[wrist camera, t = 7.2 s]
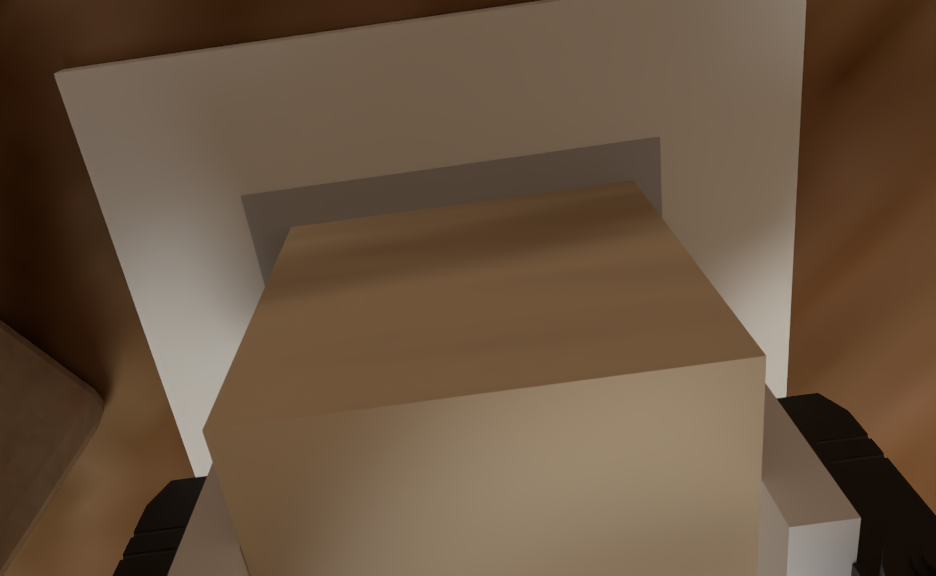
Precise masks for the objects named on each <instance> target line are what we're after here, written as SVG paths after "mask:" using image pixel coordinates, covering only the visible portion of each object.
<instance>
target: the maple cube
mask: <svg viewBox="0 0 936 576" xmlns="http://www.w3.org/2000/svg"><path fill="white" fill-rule="evenodd" d="M765 379H766V355H765V353H764V352H763V351H762V349H761V348H760V347H759V345H758V344H757V343H756V341H755V340H754V339H753V338H752V336H751V335H750V334H749V332H748V331H747V330H746V328H745V327H744V326H743V324H742V323H741V322H740V320H739V319H738V318H737V316H736V315H735V314H734V312H733V311H732V310H731V308H730V307H729V306H728V305H727V303H726V302H725V301H724V299H723V298H722V297H721V295H720V294H719V293H718V291H717V290H716V289H715V287H714V286H713V285H712V283H711V282H710V281H709V279H708V278H707V277H706V276H705V274H704V273H703V272H702V270H701V269H700V268H699V266H698V265H697V264H696V262H695V261H694V260H693V258H692V257H691V256H690V254H689V253H688V252H687V250H686V249H685V248H684V247H683V245H682V244H681V243H680V241H679V240H678V239H677V237H676V236H675V235H674V233H673V232H672V231H671V229H670V228H669V227H668V225H667V224H666V223H665V221H664V220H663V219H662V218H661V216H660V215H659V214H658V212H657V211H656V210H655V208H654V207H653V206H652V204H651V203H650V202H649V200H648V199H647V198H646V196H645V195H644V194H643V192H642V191H641V190H640V189H639V187H638V186H637V185H636V183H635V182H634V181H626V182H619V183H612V184H604V185H597V186H590V187H582V188H575V189H568V190H560V191H553V192H546V193H538V194H531V195H524V196H516V197H509V198H502V199H494V200H487V201H480V202H472V203H465V204H458V205H450V206H443V207H436V208H428V209H421V210H414V211H406V212H399V213H392V214H384V215H377V216H370V217H362V218H355V219H348V220H340V221H333V222H326V223H318V224H311V225H304V226H296V227H291V229H290V231H289V233H288V235H287V238H286V240H285V242H284V245H283V247H282V249H281V251H280V254H279V256H278V258H277V261H276V263H275V265H274V267H273V270H272V272H271V274H270V277H269V279H268V281H267V284H266V286H265V288H264V290H263V293H262V295H261V297H260V300H259V302H258V304H257V306H256V309H255V311H254V313H253V316H252V318H251V320H250V322H249V325H248V327H247V329H246V332H245V334H244V336H243V338H242V341H241V343H240V345H239V348H238V350H237V352H236V354H235V357H234V359H233V361H232V364H231V366H230V368H229V370H228V373H227V375H226V377H225V380H224V382H223V384H222V386H221V389H220V391H219V393H218V396H217V398H216V400H215V403H214V405H213V407H212V409H211V412H210V414H209V416H208V419H207V421H206V423H205V425H204V428H203V430H202V432H203V435H204V438H205V441H206V444H207V447H208V450H209V453H210V456H211V459H212V462H213V465H214V468H215V471H216V474H217V477H218V480H219V483H220V486H221V489H222V492H223V495H224V498H225V501H226V504H227V507H228V510H229V513H230V516H231V519H232V522H233V525H234V528H235V531H236V534H237V537H238V540H239V543H240V546H241V549H242V552H243V555H244V558H245V561H246V564H247V567H248V570H249V573H250V576H757V568H758V540H759V513H760V486H761V475H762V451H763V427H764V403H765Z"/></svg>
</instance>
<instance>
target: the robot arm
mask: <svg viewBox="0 0 936 576" xmlns="http://www.w3.org/2000/svg"><path fill="white" fill-rule="evenodd" d="M113 576H250V573H249V570H248V567H247V564H246V561H245V558H244V555H243V552H242V549H241V546H240V543H239V540H238V537H237V534H236V531H235V528H234V525H233V522H232V519H231V516H230V513H229V510H228V507H227V504H226V501H225V498H224V495H223V492H222V489H221V486H220V483H219V480H218V477H217V474H216V471H215V468H214V465H213V463H212V465H211V468H210V470H209V473H208V475H207V476H203V477H195V478H188V479H180V480H173V481H170V482H169V483H168V484H167V485H166V486H165V487H164V488H163V490H162V491H161V492H160V493H159V494H158V495H157V496H156V497H155V498H154V499H153V500H152V501H151V502H150V503H149V504H148V505H147V506H146V508H145V510H144V512H143V514H142V516H141V518H140V520H139V522H138V524H137V526H136V528H135V531H134V537H132V538H131V539H130V541H129V543H128V545H127V547H126V549H125V551H124V553H123V560H120V562H119V564H118V566H117V568H116V570H115V572H114V574H113ZM757 576H936V515H935V514H934V513H933V512H932V510H931V509H930V508H929V507H928V506H927V504H926V503H925V502H924V501H923V500H922V498H921V497H920V496H919V495H918V494H917V492H916V491H915V490H914V489H913V488H912V486H911V485H910V484H909V483H908V482H907V480H906V479H905V478H904V477H903V476H902V475H901V473H900V472H899V471H898V470H897V469H896V467H895V466H894V465H893V464H892V463H891V461H890V460H889V459H888V458H885V457H884V454H883V452H882V451H881V449H880V448H879V447H878V446H877V445H876V443H875V442H874V441H873V440H872V439H869V438H868V434H867V433H866V431H865V430H864V429H863V428H862V427H861V425H860V424H859V423H858V422H857V421H856V419H855V418H854V417H853V416H852V415H851V413H850V412H849V411H848V410H846V409H844V408H843V407H841V406H839V405H837V404H836V403H834V402H832V401H831V400H829V399H827V398H826V397H824V396H822V395H820V394H819V393H814V394H806V395H799V396H791V397H784V398H776V397H775V396H774V394H773V393H772V392H771V390H770V389H769V387H768V386H767V384H766V383H765V403H764V427H763V451H762V475H761V486H760V513H759V540H758V568H757Z"/></svg>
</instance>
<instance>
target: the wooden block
mask: <svg viewBox="0 0 936 576" xmlns="http://www.w3.org/2000/svg"><path fill="white" fill-rule="evenodd" d="M103 412H104V401H103V400H102V399H101V397H100V396H99V394H98V393H97V391H96V390H95V389H94V388H92V387H91V386H89V385H88V384H87V383H85V382H84V381H83V380H81V379H80V378H79V377H77V376H76V375H75V374H73V373H72V372H70V371H69V370H68V369H66V368H65V367H64V366H62V365H61V364H60V363H58V362H57V361H55V360H54V359H53V358H51V357H50V356H49V355H47V354H46V353H45V352H43V351H42V350H40V349H39V348H38V347H36V346H35V345H34V344H32V343H31V342H30V341H28V340H27V339H26V338H24V337H23V336H21V335H20V334H19V333H17V332H16V331H15V330H13V329H12V328H11V327H9V326H8V325H6V324H5V323H4V322H2V321H1V320H0V576H3V575H4V573H5V572H6V570H7V569H8V567H9V566H10V564H11V562H12V561H13V559H14V558H15V556H16V555H17V553H18V551H19V550H20V548H21V547H22V545H23V544H24V542H25V541H26V539H27V537H28V536H29V534H30V533H31V531H32V530H33V528H34V526H35V525H36V523H37V522H38V520H39V519H40V517H41V516H42V514H43V512H44V511H45V509H46V508H47V506H48V505H49V503H50V501H51V500H52V498H53V497H54V495H55V494H56V492H57V490H58V489H59V487H60V486H61V484H62V483H63V481H64V480H65V478H66V476H67V475H68V473H69V472H70V470H71V469H72V467H73V465H74V464H75V462H76V461H77V459H78V458H79V456H80V455H81V453H82V451H83V450H84V448H85V447H86V445H87V444H88V442H89V440H90V439H91V437H92V436H93V434H94V433H95V431H96V430H97V428H98V426H99V424H100V421H101V418H102V415H103Z"/></svg>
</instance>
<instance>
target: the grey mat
mask: <svg viewBox="0 0 936 576" xmlns="http://www.w3.org/2000/svg"><path fill="white" fill-rule="evenodd" d="M805 19H806V0H541V1H534V2H527V3H520V4H513V5H506V6H499V7H492V8H485V9H478V10H471V11H464V12H457V13H450V14H443V15H436V16H429V17H422V18H416V19H409V20H402V21H395V22H388V23H381V24H374V25H367V26H360V27H353V28H346V29H339V30H332V31H325V32H318V33H311V34H304V35H297V36H290V37H283V38H276V39H269V40H262V41H256V42H249V43H242V44H235V45H228V46H221V47H214V48H207V49H200V50H193V51H186V52H179V53H172V54H165V55H158V56H151V57H144V58H137V59H130V60H123V61H116V62H109V63H102V64H96V65H89V66H82V67H75V68H68V69H63V70H61V71H58V72H56V73H54V77H55V79H56V82H57V85H58V88H59V91H60V94H61V97H62V99H63V102H64V105H65V108H66V111H67V114H68V116H69V119H70V122H71V125H72V128H73V131H74V133H75V136H76V139H77V142H78V145H79V148H80V150H81V153H82V156H83V159H84V162H85V165H86V168H87V170H88V173H89V176H90V179H91V182H92V185H93V187H94V190H95V193H96V196H97V199H98V202H99V204H100V207H101V210H102V213H103V216H104V219H105V221H106V224H107V227H108V230H109V233H110V236H111V239H112V241H113V244H114V247H115V250H116V253H117V256H118V258H119V261H120V264H121V267H122V270H123V273H124V275H125V278H126V281H127V284H128V287H129V290H130V292H131V295H132V298H133V301H134V304H135V307H136V310H137V312H138V315H139V318H140V321H141V324H142V327H143V329H144V332H145V335H146V338H147V341H148V344H149V346H150V349H151V352H152V355H153V358H154V361H155V363H156V366H157V369H158V372H159V375H160V378H161V381H162V383H163V386H164V389H165V392H166V395H167V398H168V400H169V403H170V406H171V409H172V412H173V415H174V417H175V420H176V423H177V426H178V429H179V432H180V434H181V437H182V440H183V443H184V446H185V449H186V452H187V454H188V457H189V460H190V463H191V466H192V469H193V471H194V474H195V477H203V476H207V475H208V473H209V470H210V468H211V465H212V463H213V462H212V459H211V456H210V453H209V450H208V447H207V444H206V441H205V438H204V435H203V432H202V430H203V428H204V425H205V423H206V421H207V419H208V416H209V414H210V412H211V409H212V407H213V405H214V403H215V400H216V398H217V396H218V393H219V391H220V389H221V386H222V384H223V382H224V380H225V377H226V375H227V373H228V370H229V368H230V366H231V364H232V361H233V359H234V357H235V354H236V352H237V350H238V348H239V345H240V343H241V341H242V338H243V336H244V334H245V332H246V329H247V327H248V325H249V322H250V320H251V318H252V316H253V313H254V311H255V309H256V306H257V304H258V302H259V300H260V297H261V295H262V293H263V290H264V288H265V286H266V284H267V281H268V279H269V277H270V274H271V272H272V270H273V267H274V265H275V263H276V261H277V258H278V256H279V254H280V251H281V249H282V247H283V245H284V242H285V240H286V238H287V235H288V233H289V231H290V229H291V227H296V226H304V225H311V224H318V223H326V222H333V221H340V220H348V219H355V218H362V217H370V216H377V215H384V214H392V213H399V212H406V211H414V210H421V209H428V208H436V207H443V206H450V205H458V204H465V203H472V202H480V201H487V200H494V199H502V198H509V197H516V196H524V195H531V194H538V193H546V192H553V191H560V190H568V189H575V188H582V187H590V186H597V185H604V184H612V183H619V182H626V181H634V182H635V183H636V185H637V186H638V187H639V189H640V190H641V191H642V192H643V194H644V195H645V196H646V198H647V199H648V200H649V202H650V203H651V204H652V206H653V207H654V208H655V210H656V211H657V212H658V214H659V215H660V216H661V218H662V219H663V220H664V221H665V223H666V224H667V225H668V227H669V228H670V229H671V231H672V232H673V233H674V235H675V236H676V237H677V239H678V240H679V241H680V243H681V244H682V245H683V247H684V248H685V249H686V250H687V252H688V253H689V254H690V256H691V257H692V258H693V260H694V261H695V262H696V264H697V265H698V266H699V268H700V269H701V270H702V272H703V273H704V274H705V276H706V277H707V278H708V279H709V281H710V282H711V283H712V285H713V286H714V287H715V289H716V290H717V291H718V293H719V294H720V295H721V297H722V298H723V299H724V301H725V302H726V303H727V305H728V306H729V307H730V308H731V310H732V311H733V312H734V314H735V315H736V316H737V318H738V319H739V320H740V322H741V323H742V324H743V326H744V327H745V328H746V330H747V331H748V332H749V334H750V335H751V336H752V338H753V339H754V340H755V341H756V343H757V344H758V345H759V347H760V348H761V349H762V351H763V352H764V353H765V355H766V379H765V383H766V384H767V386H768V387H769V389H770V390H771V392H772V393H773V394H774V396H775V397H776V398H784V397H786V391H787V371H788V351H789V332H790V312H791V293H792V273H793V254H794V234H795V215H796V195H797V175H798V156H799V136H800V117H801V97H802V78H803V58H804V39H805Z"/></svg>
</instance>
